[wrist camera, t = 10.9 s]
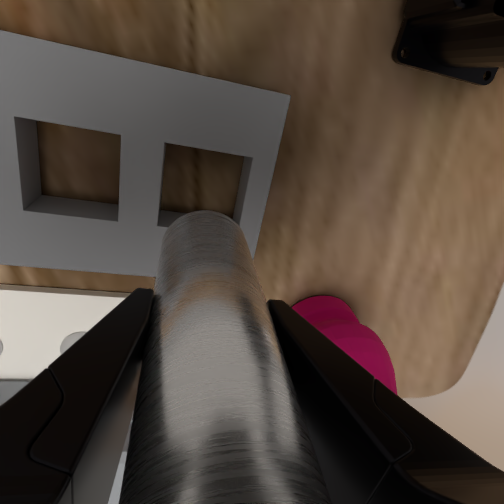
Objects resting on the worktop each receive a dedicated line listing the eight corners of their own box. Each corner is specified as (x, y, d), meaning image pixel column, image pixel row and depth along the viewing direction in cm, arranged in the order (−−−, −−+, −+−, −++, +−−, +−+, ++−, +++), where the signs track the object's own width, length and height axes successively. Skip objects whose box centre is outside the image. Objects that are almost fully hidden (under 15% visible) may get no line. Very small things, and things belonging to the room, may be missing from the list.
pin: (254, 216, 12) (383, 511, 4) (237, 289, 13) (308, 618, 5) (165, 203, 11) (106, 533, 3) (157, 281, 12) (99, 649, 5)
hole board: (278, 92, 19) (291, 95, 17) (241, 264, 24) (247, 284, 21) (-180, -11, 14) (-247, -26, 12) (-111, 231, 19) (-150, 252, 17)
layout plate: (206, 298, 24) (207, 305, 24) (191, 387, 28) (191, 395, 28) (-58, 280, 21) (-67, 287, 20) (-34, 386, 24) (-40, 395, 24)
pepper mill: (264, 360, 28) (389, 826, 11) (279, 287, 25) (491, 783, 8) (344, 359, 30) (567, 765, 12) (368, 290, 27) (714, 706, 9)
